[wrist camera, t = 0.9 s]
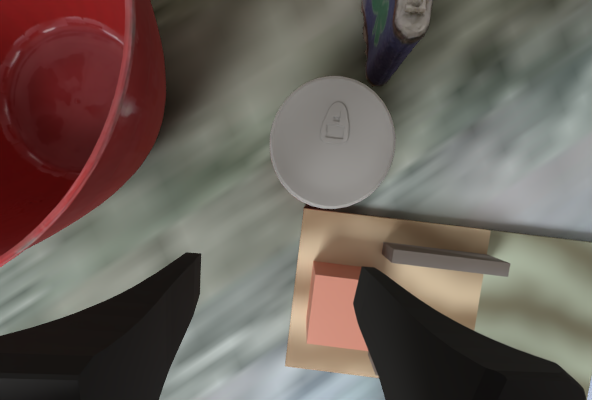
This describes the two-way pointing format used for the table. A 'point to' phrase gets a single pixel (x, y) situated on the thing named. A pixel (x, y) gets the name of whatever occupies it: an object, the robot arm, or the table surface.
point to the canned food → (332, 142)
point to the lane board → (456, 285)
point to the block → (333, 307)
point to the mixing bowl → (73, 109)
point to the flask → (392, 34)
